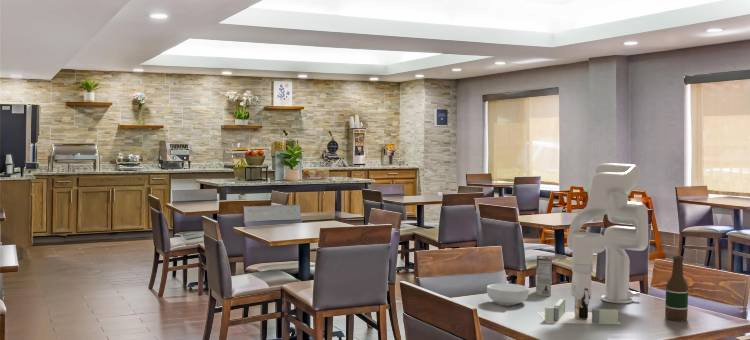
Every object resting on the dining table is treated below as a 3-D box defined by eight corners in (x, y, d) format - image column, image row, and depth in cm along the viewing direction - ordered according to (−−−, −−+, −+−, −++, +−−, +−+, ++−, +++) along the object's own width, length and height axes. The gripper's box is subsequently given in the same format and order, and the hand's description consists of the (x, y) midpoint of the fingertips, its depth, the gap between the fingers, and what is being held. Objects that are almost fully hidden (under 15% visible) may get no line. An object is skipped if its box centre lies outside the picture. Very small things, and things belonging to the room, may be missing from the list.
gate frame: (605, 313, 275) (605, 300, 275) (621, 325, 258) (621, 310, 258) (536, 313, 274) (536, 299, 274) (547, 324, 257) (547, 309, 257)
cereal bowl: (536, 304, 290) (536, 287, 290) (514, 310, 278) (514, 293, 278) (500, 297, 302) (501, 281, 301) (478, 303, 289) (478, 286, 289)
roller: (585, 317, 267) (585, 296, 267) (588, 320, 262) (589, 298, 262) (573, 316, 267) (574, 296, 266) (577, 319, 262) (577, 298, 262)
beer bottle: (686, 317, 271) (688, 255, 270) (688, 322, 264) (690, 258, 263) (664, 315, 274) (666, 254, 273) (665, 320, 266) (667, 257, 265)
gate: (559, 319, 262) (559, 305, 262) (553, 318, 263) (554, 305, 262) (565, 311, 274) (565, 298, 274) (559, 310, 275) (560, 298, 275)
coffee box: (535, 291, 315) (536, 255, 315) (550, 291, 314) (551, 256, 313) (536, 295, 306) (537, 258, 306) (551, 296, 305) (552, 259, 304)
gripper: (566, 264, 272) (564, 311, 273) (579, 272, 255) (578, 322, 256) (585, 264, 272) (584, 311, 273) (600, 272, 255) (598, 322, 256)
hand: (581, 316), depth 265 cm, fingers closed on roller, 4 cm apart
